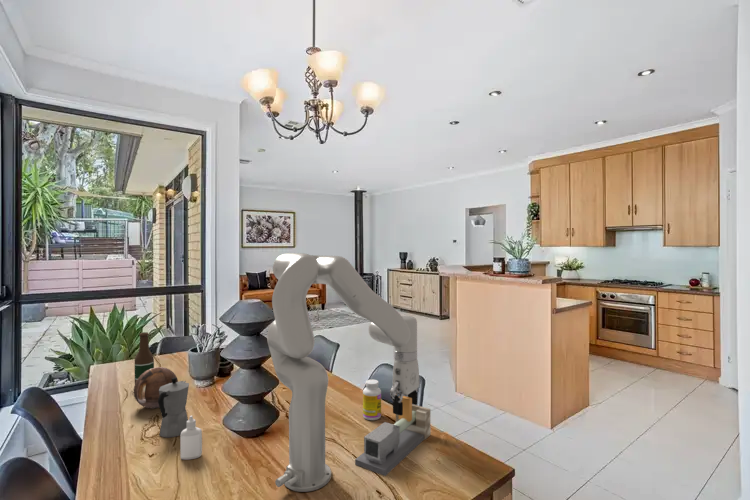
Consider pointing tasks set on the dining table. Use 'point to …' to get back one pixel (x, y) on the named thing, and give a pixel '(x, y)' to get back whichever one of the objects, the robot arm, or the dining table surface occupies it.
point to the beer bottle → (143, 357)
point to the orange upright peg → (406, 414)
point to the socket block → (420, 421)
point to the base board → (392, 459)
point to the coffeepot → (173, 408)
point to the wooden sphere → (152, 386)
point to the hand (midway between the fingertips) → (405, 408)
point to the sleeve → (381, 442)
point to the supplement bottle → (372, 400)
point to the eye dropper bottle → (191, 441)
